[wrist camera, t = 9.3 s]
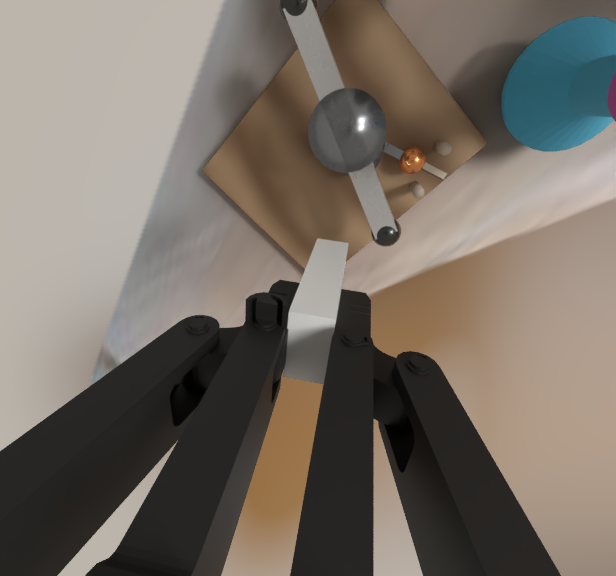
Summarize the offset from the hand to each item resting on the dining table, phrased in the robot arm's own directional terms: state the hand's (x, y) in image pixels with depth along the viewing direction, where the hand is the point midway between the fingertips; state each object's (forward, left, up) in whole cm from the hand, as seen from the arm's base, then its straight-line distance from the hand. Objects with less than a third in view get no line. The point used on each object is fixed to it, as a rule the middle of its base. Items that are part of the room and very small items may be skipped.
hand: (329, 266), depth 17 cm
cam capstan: (-5, -3, -21) cm, 22 cm away
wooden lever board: (0, -3, -23) cm, 24 cm away
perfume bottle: (-17, +6, -24) cm, 30 cm away
